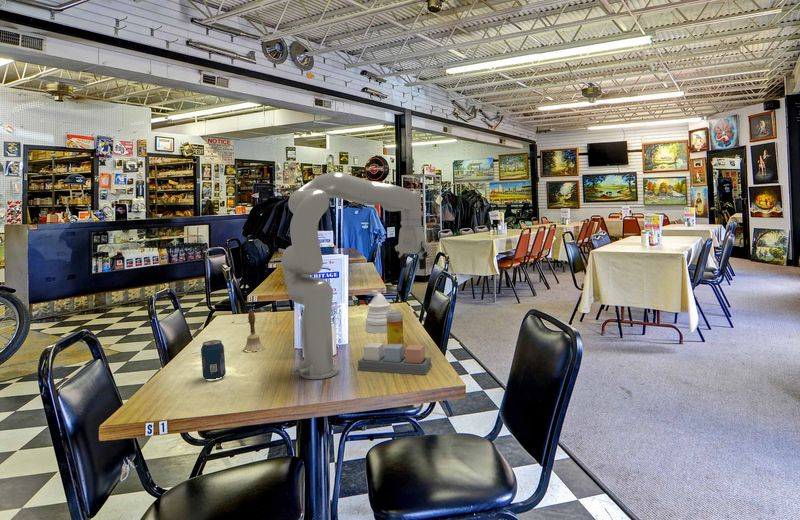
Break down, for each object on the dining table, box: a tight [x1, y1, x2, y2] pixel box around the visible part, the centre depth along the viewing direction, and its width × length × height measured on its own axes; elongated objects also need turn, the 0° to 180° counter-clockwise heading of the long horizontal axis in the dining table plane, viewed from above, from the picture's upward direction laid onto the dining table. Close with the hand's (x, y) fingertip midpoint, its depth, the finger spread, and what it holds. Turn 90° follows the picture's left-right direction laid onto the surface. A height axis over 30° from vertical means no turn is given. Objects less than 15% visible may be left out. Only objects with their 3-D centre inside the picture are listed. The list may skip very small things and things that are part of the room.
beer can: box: [386, 309, 405, 345], centre depth 175 cm, size 6×6×15 cm
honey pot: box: [365, 289, 392, 334], centre depth 208 cm, size 13×13×18 cm
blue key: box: [384, 344, 405, 362], centre depth 155 cm, size 5×5×4 cm
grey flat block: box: [357, 355, 433, 376], centre depth 155 cm, size 23×9×3 cm, turn 73°
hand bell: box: [243, 309, 265, 351], centre depth 183 cm, size 8×8×16 cm
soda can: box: [200, 339, 227, 380], centre depth 151 cm, size 7×7×12 cm
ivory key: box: [363, 342, 385, 361], centre depth 157 cm, size 5×5×4 cm
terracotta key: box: [404, 344, 426, 364], centre depth 153 cm, size 5×5×4 cm
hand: (412, 268), depth 179 cm, fingers open, 9 cm apart
